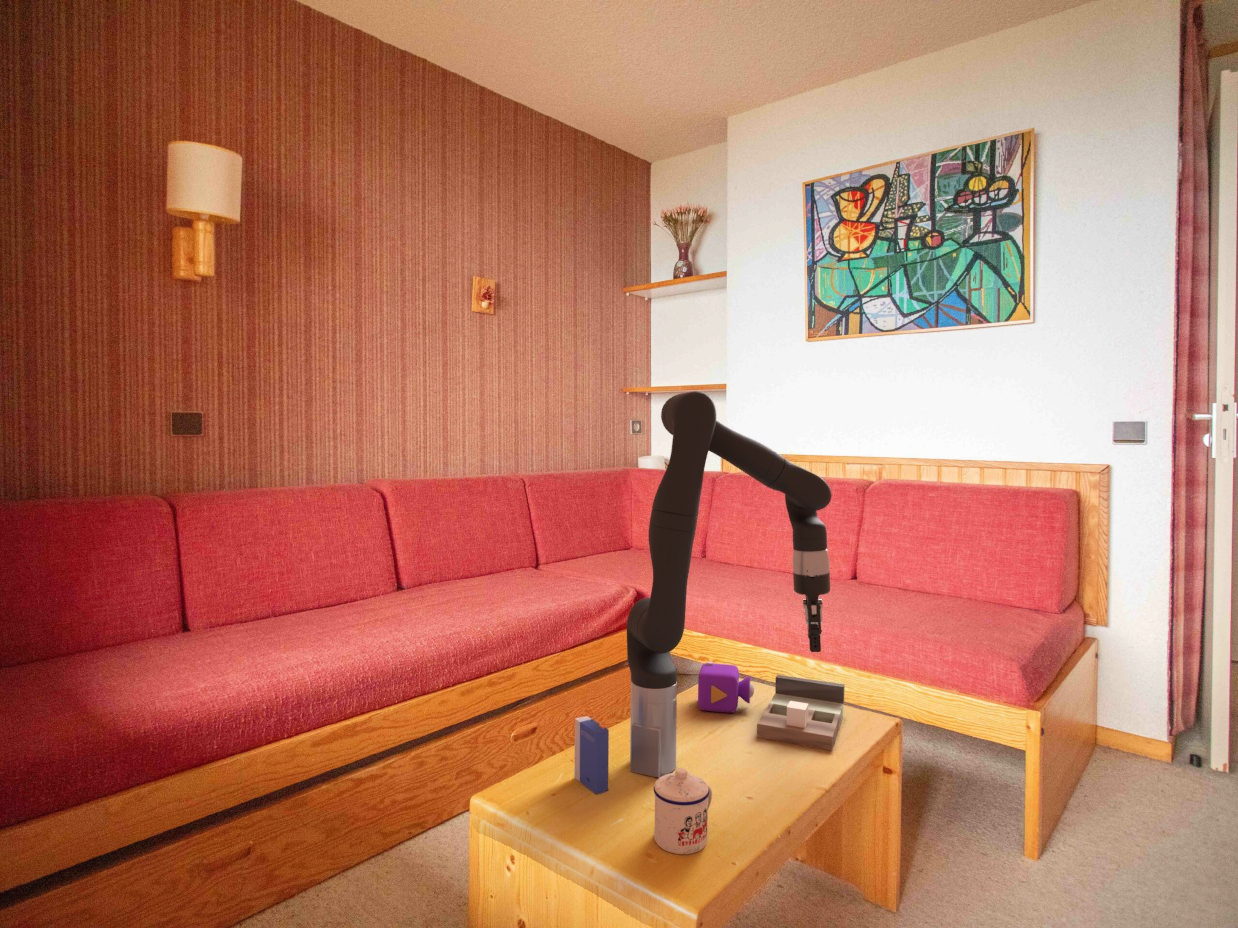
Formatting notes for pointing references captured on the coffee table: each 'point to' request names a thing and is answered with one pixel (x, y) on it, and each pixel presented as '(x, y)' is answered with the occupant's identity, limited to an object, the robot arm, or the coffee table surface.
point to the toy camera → (722, 688)
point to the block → (797, 714)
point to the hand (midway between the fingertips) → (814, 644)
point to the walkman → (591, 754)
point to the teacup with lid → (681, 812)
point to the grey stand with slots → (821, 712)
